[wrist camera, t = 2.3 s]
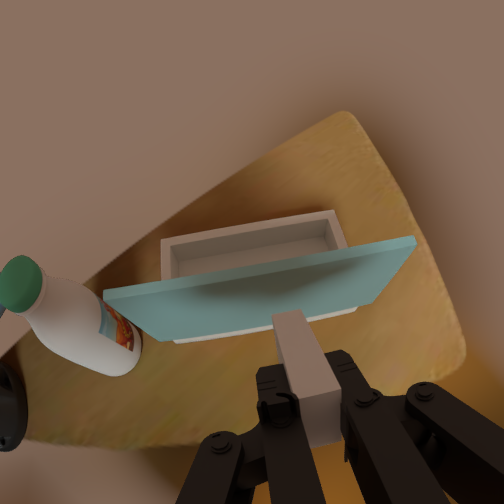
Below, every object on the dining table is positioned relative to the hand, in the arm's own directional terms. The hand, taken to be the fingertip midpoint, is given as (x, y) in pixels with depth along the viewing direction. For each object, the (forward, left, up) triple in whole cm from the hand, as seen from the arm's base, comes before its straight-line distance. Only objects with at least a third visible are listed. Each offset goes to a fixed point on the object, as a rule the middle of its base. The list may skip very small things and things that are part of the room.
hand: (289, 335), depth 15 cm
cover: (-1, +6, -9) cm, 11 cm away
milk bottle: (-21, +3, -20) cm, 29 cm away
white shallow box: (-3, +12, -20) cm, 24 cm away
